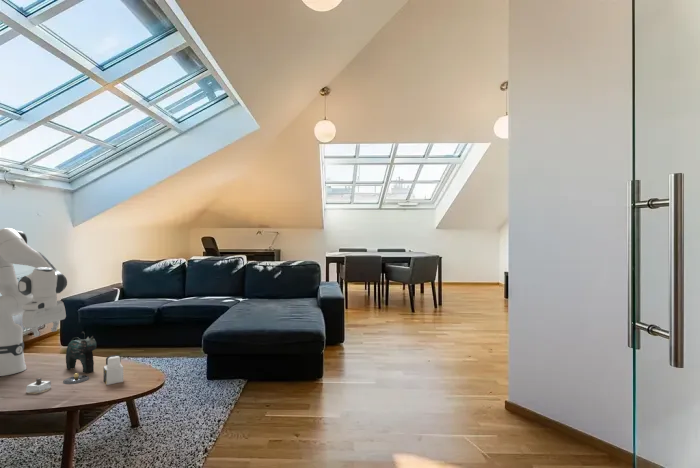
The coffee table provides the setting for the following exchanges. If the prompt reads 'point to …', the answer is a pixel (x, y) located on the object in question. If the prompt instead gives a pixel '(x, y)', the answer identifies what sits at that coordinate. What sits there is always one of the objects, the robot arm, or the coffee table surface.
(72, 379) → the hub
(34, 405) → the coffee table surface
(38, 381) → the stand
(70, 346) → the bull figurine
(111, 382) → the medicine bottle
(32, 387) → the square tunnel block
